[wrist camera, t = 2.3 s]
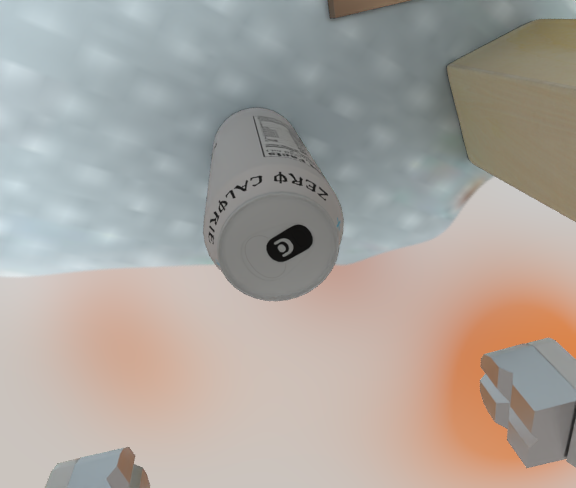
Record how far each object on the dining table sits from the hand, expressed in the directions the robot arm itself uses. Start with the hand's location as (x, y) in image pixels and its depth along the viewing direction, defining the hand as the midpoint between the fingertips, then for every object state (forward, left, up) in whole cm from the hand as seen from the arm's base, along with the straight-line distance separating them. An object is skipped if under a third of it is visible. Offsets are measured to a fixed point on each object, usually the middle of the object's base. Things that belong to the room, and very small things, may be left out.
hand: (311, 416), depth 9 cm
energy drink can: (0, 0, -23) cm, 23 cm away
